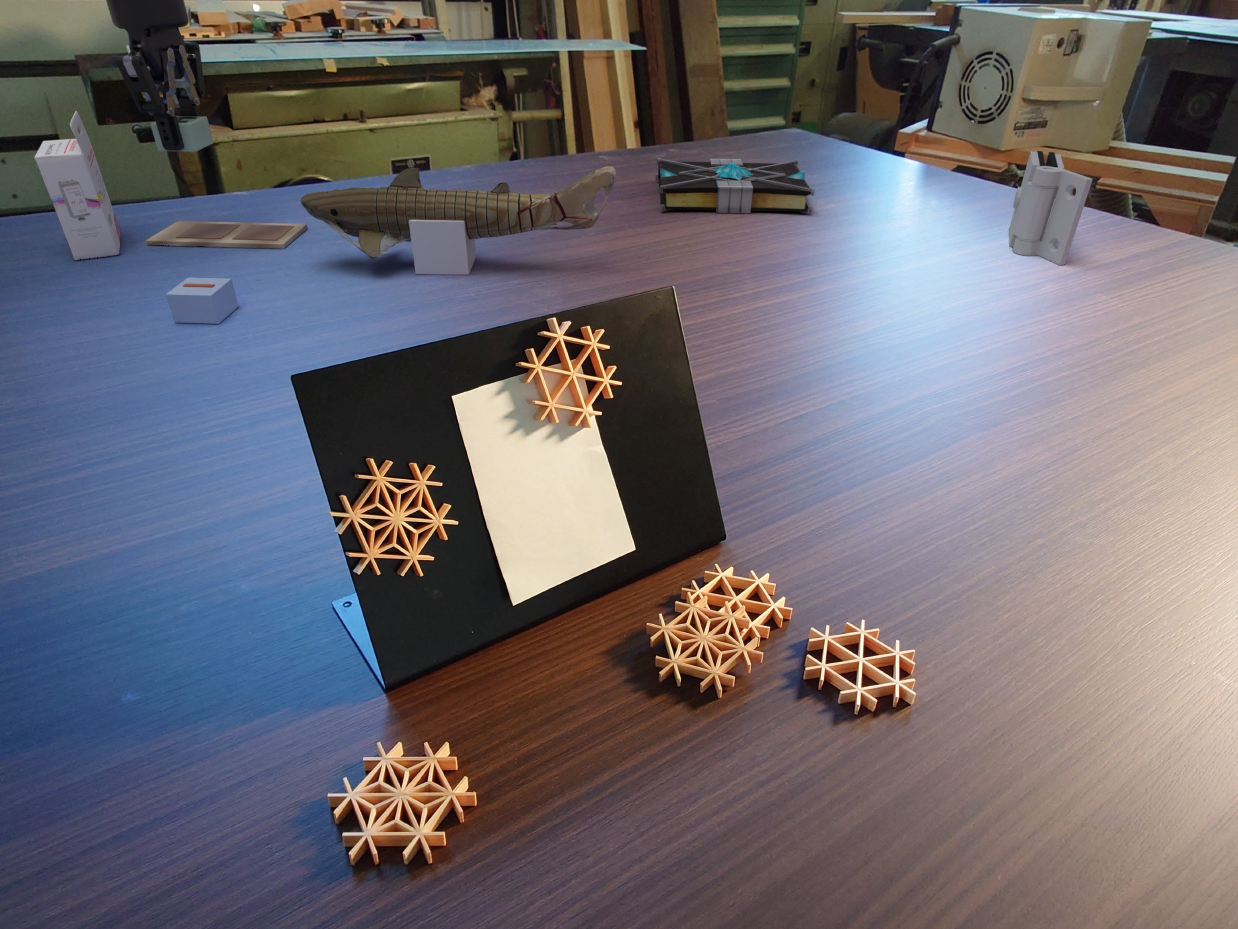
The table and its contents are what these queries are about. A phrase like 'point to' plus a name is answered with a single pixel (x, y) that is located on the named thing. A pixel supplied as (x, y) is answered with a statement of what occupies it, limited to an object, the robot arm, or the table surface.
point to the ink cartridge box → (79, 194)
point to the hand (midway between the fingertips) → (185, 144)
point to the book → (732, 186)
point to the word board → (228, 234)
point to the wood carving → (451, 216)
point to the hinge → (1047, 208)
